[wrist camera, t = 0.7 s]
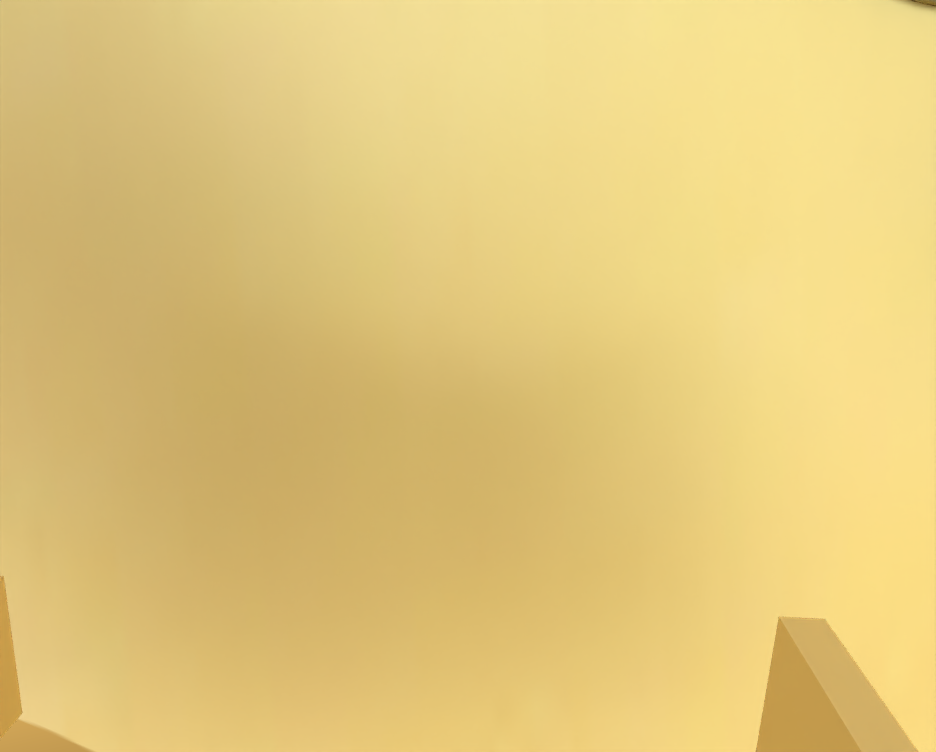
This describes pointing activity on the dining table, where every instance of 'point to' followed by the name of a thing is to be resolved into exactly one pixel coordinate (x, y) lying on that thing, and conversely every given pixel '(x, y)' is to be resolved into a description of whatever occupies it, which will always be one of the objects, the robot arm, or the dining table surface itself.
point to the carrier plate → (927, 1)
